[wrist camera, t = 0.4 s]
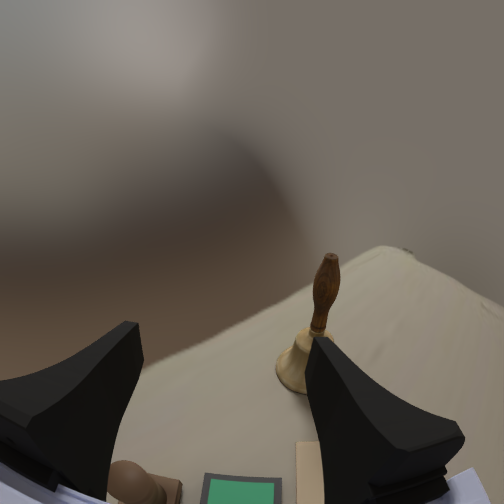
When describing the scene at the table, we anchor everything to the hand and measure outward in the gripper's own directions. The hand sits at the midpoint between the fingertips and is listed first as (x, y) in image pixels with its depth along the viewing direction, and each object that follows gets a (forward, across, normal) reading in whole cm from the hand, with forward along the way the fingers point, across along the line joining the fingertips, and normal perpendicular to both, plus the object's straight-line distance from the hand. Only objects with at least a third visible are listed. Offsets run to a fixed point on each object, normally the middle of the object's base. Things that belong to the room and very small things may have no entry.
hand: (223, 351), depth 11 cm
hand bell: (+17, -10, +17) cm, 26 cm away
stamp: (0, +6, +21) cm, 22 cm away
